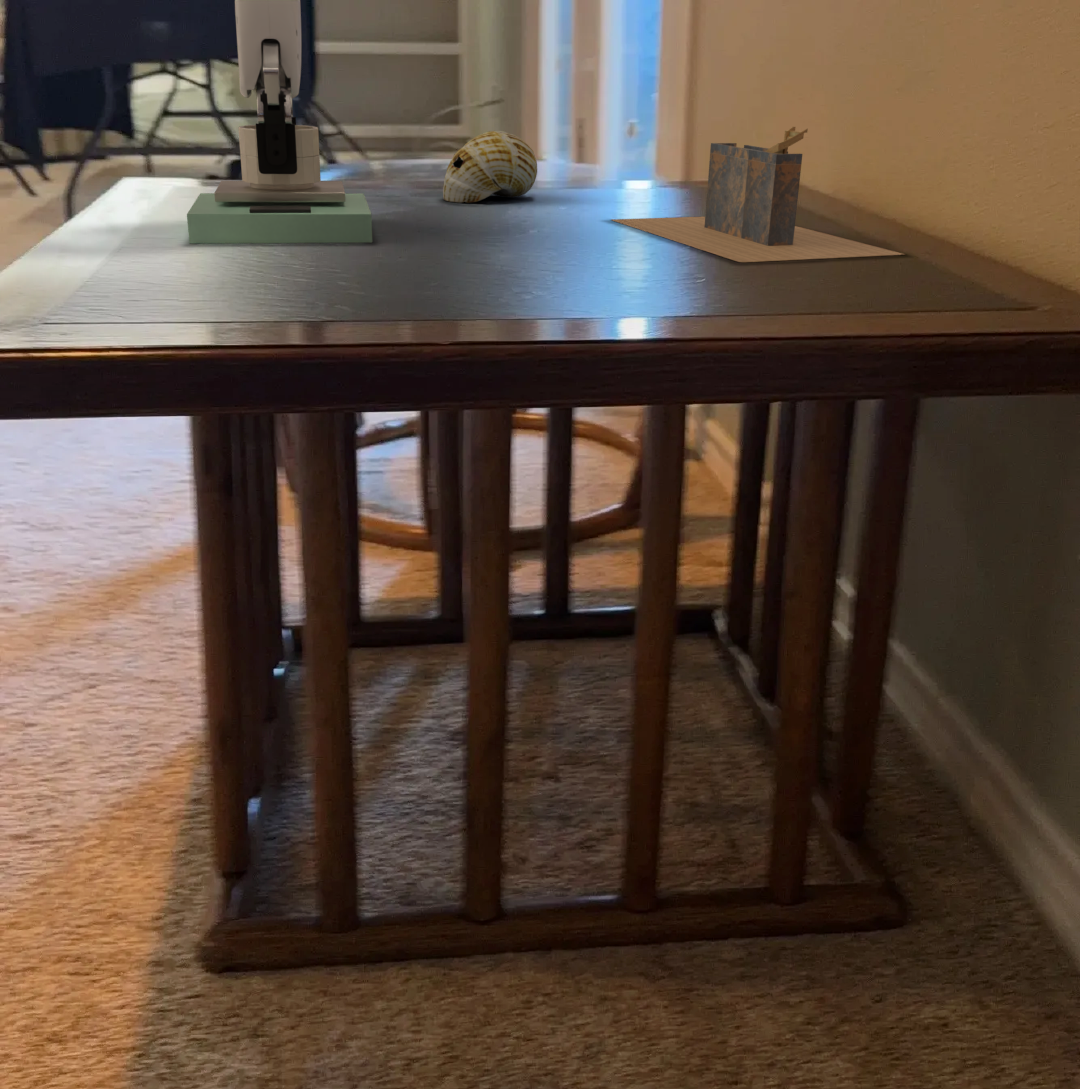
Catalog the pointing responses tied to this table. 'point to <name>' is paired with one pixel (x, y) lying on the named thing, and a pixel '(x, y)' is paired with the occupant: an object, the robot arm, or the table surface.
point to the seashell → (490, 168)
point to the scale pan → (279, 193)
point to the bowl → (300, 180)
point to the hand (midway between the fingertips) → (279, 167)
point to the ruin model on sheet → (754, 210)
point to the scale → (279, 221)
